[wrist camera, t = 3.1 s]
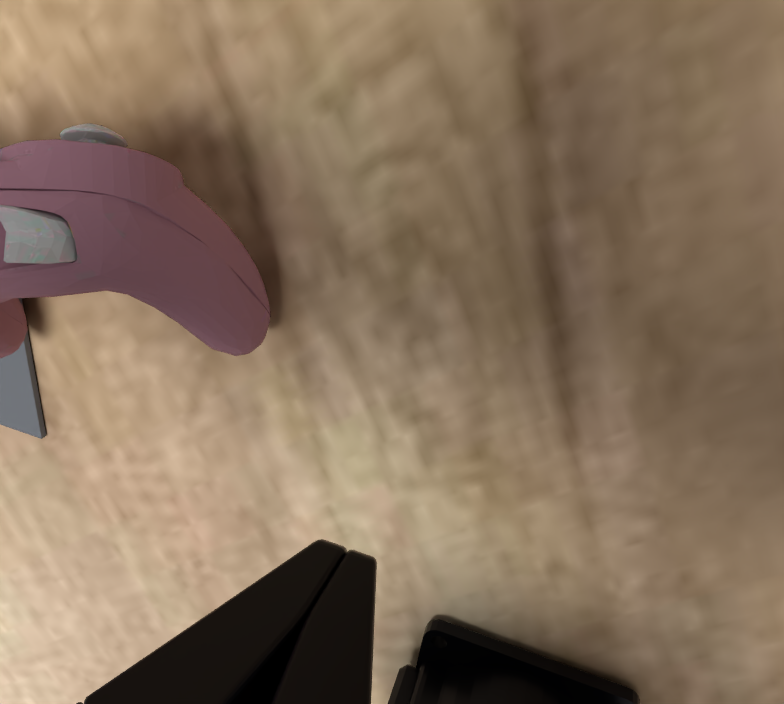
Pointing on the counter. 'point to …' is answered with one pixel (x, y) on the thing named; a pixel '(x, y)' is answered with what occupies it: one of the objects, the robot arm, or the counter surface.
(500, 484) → the counter surface
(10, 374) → the mat
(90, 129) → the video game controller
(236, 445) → the counter surface
